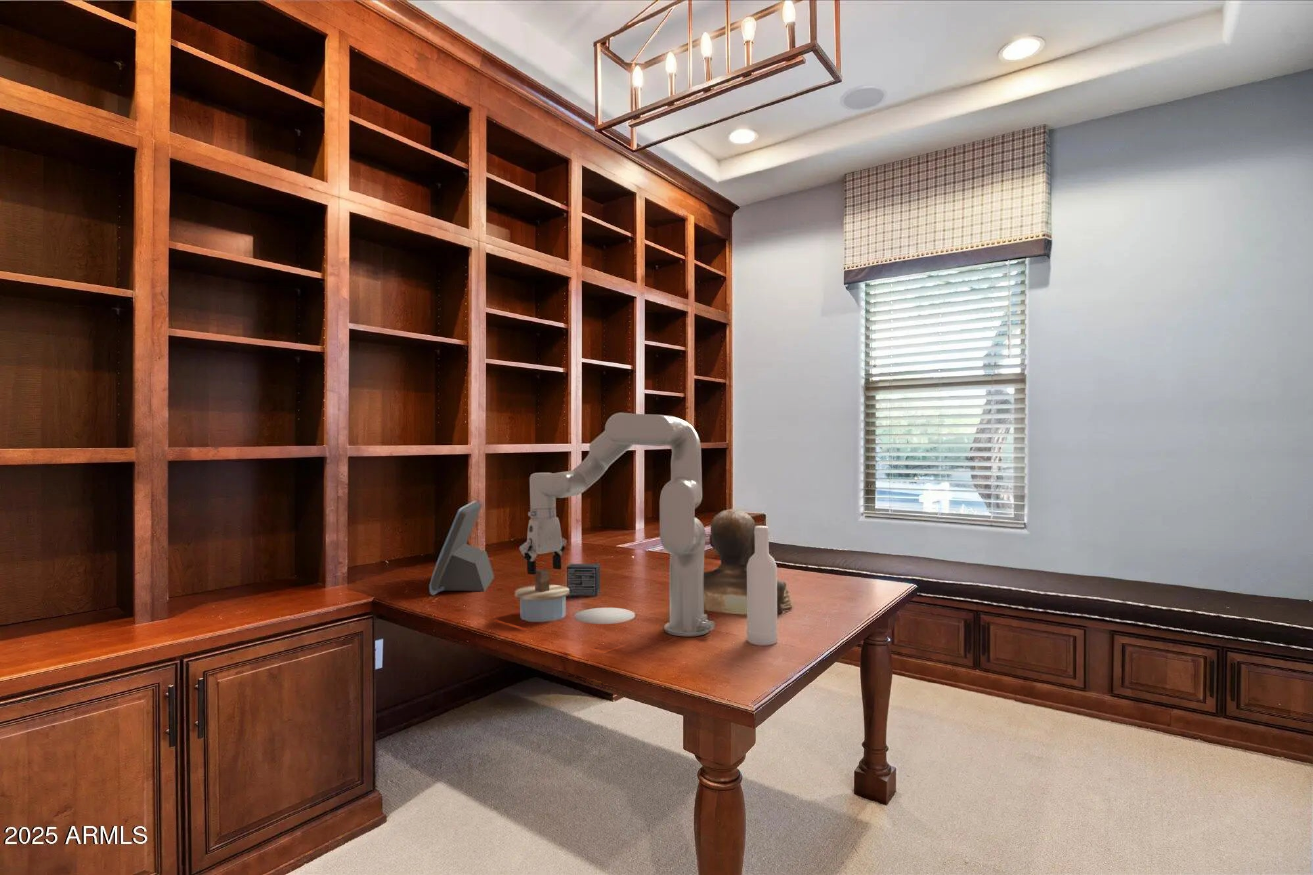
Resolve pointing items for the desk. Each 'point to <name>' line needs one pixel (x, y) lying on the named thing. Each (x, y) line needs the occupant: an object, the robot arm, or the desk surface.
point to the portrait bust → (734, 565)
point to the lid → (542, 589)
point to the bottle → (762, 592)
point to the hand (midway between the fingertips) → (544, 571)
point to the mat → (604, 615)
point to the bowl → (542, 610)
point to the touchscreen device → (461, 557)
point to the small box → (583, 580)
